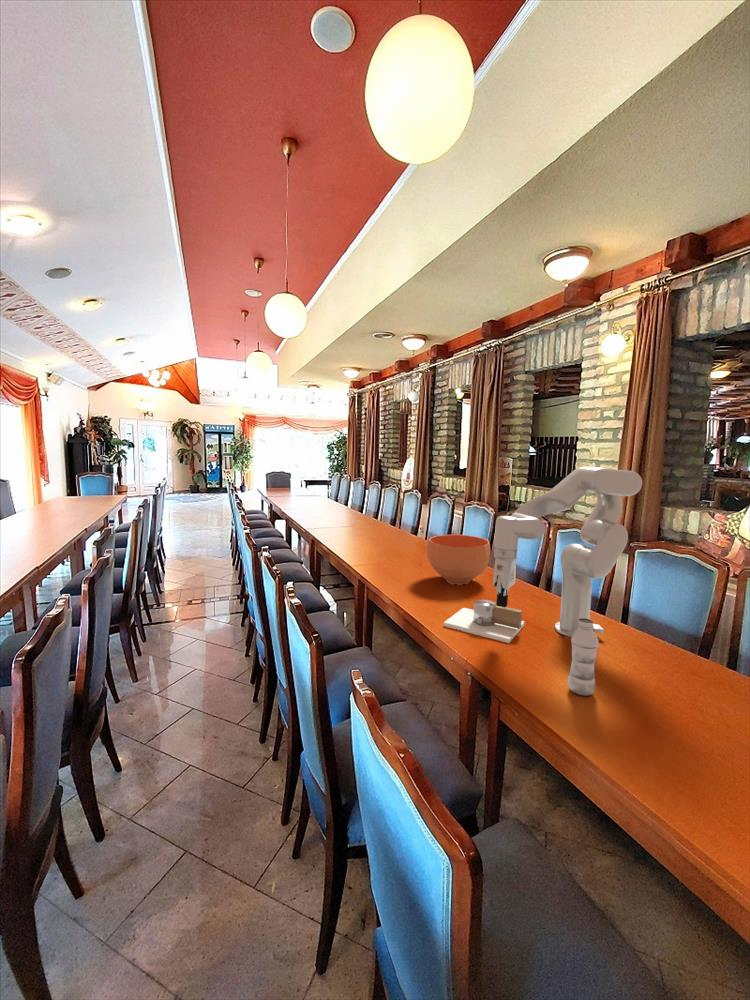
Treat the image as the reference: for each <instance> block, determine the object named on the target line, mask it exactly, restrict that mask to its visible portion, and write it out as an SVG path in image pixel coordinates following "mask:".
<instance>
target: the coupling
mask: <svg viewBox="0 0 750 1000" xmlns="http://www.w3.org/2000/svg"><path fill="white" fill-rule="evenodd" d="M496 603H497V602H496V601H495V602H494V601H492V600H488V599H479V600H478V599H477V600H475V601H473V610H474V615H473V621H474V622H475V623H477V624H480V625H486V626H489V625H494V624H495V623H496V624H501V625H505V626H509V627H513V628H517V629H520V628H521V623H522V621H523V620H522V617H523V610H522V609H517V608H513V607H508V606H506V607H501V606H497V605H496Z"/></svg>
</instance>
